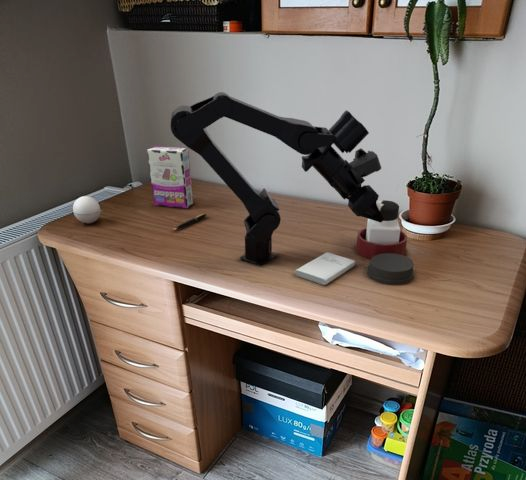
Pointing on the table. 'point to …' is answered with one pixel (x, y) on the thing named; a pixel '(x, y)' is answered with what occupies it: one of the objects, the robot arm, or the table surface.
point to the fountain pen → (191, 221)
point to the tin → (379, 246)
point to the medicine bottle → (384, 225)
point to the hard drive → (325, 268)
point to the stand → (391, 269)
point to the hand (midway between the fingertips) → (376, 213)
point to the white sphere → (86, 209)
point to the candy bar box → (170, 176)
